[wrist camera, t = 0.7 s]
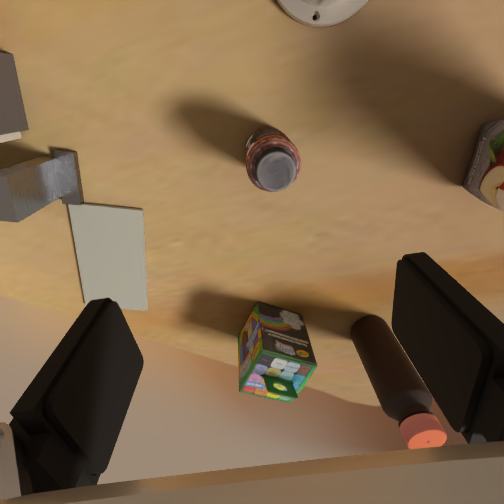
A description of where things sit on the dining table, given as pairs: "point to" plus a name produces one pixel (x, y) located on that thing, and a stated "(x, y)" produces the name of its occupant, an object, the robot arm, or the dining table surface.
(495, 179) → the juice carton
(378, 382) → the vinegar
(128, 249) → the pad
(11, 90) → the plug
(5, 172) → the housing
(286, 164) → the supplement bottle
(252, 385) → the chalk box
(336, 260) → the dining table surface
